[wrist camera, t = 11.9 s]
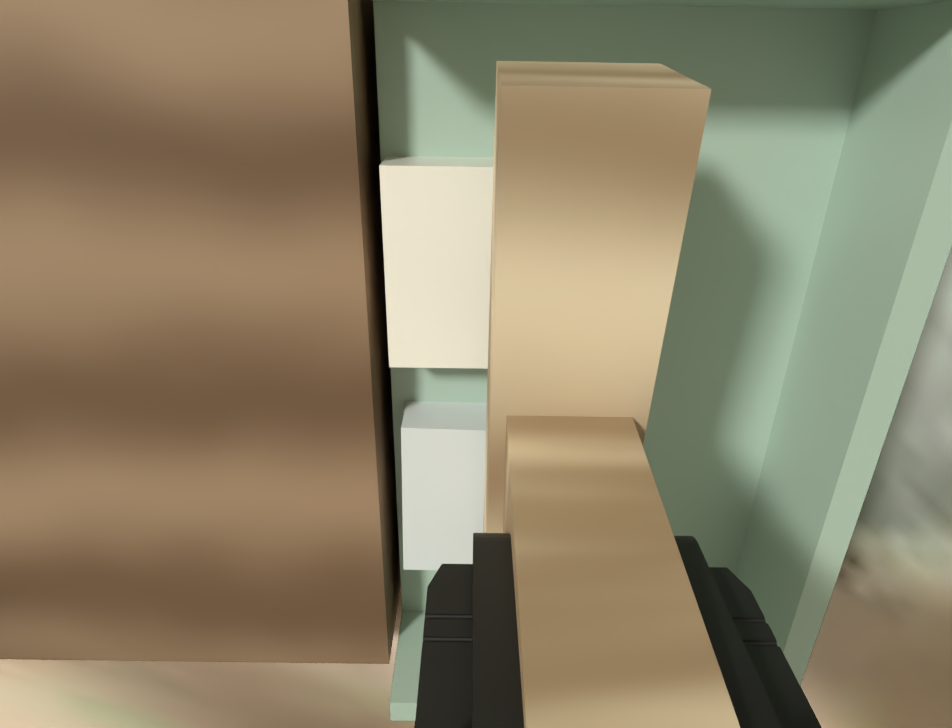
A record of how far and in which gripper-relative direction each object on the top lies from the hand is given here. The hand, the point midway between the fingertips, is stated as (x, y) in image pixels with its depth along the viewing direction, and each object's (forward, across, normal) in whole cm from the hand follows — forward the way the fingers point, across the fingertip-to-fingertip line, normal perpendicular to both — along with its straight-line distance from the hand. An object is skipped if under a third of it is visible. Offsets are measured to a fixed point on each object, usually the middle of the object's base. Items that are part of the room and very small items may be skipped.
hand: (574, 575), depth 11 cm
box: (+10, -2, 0) cm, 10 cm away
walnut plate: (+10, +12, 0) cm, 16 cm away
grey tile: (+8, +1, +4) cm, 9 cm away
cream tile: (+8, +2, -3) cm, 9 cm away
